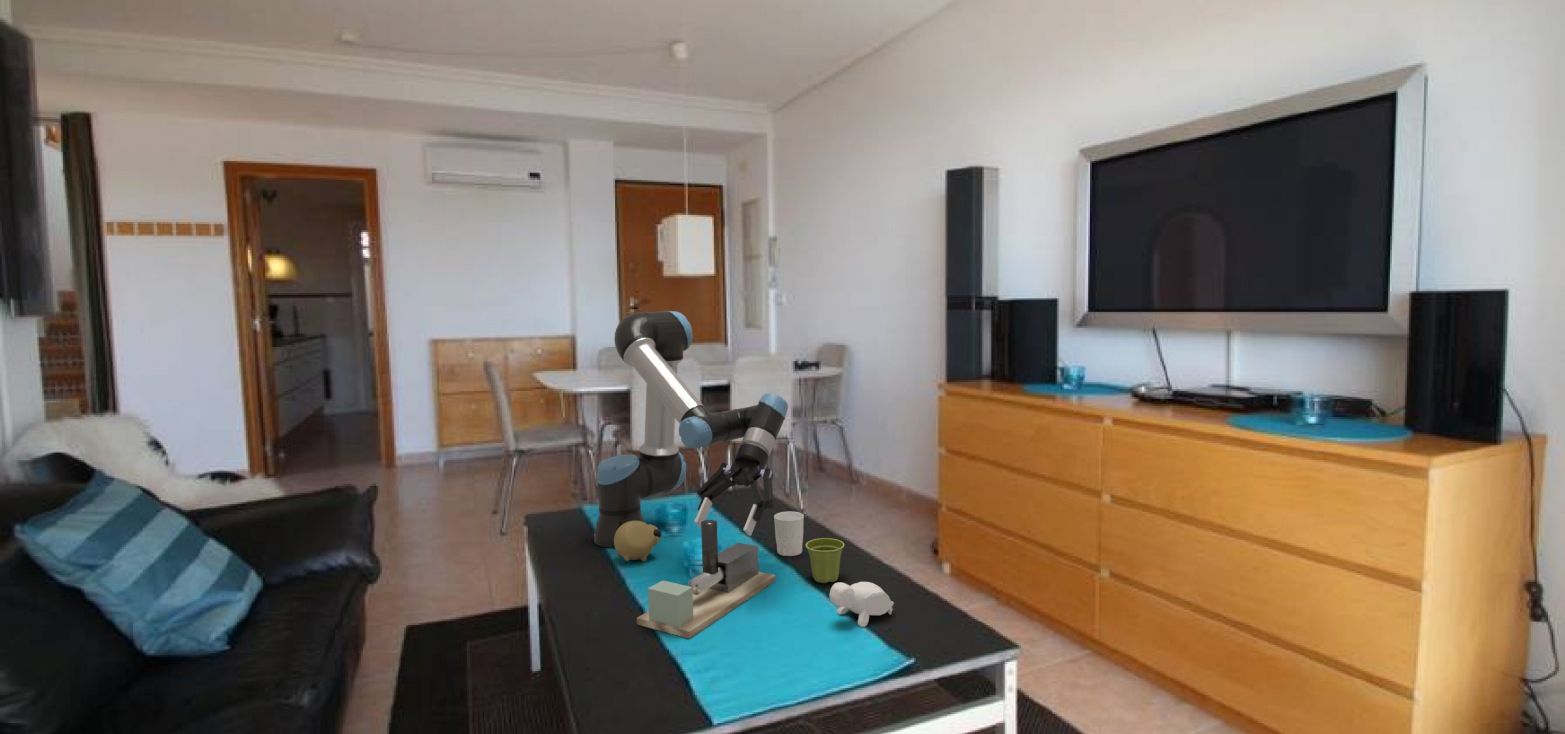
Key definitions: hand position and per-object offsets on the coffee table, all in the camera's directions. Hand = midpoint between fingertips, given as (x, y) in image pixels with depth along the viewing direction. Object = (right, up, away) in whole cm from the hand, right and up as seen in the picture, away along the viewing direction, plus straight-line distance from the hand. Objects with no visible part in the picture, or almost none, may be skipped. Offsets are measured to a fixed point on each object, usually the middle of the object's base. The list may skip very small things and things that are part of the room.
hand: (722, 528), depth 175 cm
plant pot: (+24, -15, +11) cm, 31 cm away
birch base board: (-3, -16, -1) cm, 17 cm away
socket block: (-10, -16, -13) cm, 23 cm away
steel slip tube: (0, -12, +3) cm, 13 cm away
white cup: (+16, -13, +30) cm, 36 cm away
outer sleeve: (+2, -14, +7) cm, 16 cm away
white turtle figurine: (+30, -17, -10) cm, 36 cm away
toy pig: (-24, -14, +27) cm, 39 cm away
